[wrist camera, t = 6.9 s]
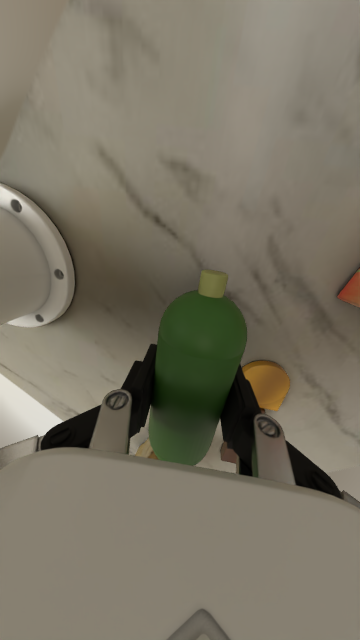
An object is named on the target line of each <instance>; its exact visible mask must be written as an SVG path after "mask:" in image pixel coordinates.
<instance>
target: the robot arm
mask: <svg viewBox="0 0 360 640" xmlns="http://www.w3.org/2000/svg"><path fill="white" fill-rule="evenodd" d="M74 287H75V277H74V268H73V264H72V260H71V256H70V254H69V251H68V249H67V246H66V244H65V242H64V240H63V238H62V236H61V235H60V233H59V231H58V229H57V228H56V226H55V225H54V224H53V223H52V221H51V220H50V219H49V217H48V216H47V215H46V214H45V213H44V212H43V211H42V210H41V209H40V208H39V207H38V206H37V205H36V204H35V203H34V202H33V201H32V200H30V199H29V198H27V197H26V196H25V195H23V194H22V193H20V192H19V191H17V190H15V189H13V188H11V187H9V186H7V185H5V184H1V183H0V325H2V324H4V323H7V324H11V325H14V326H18V327H27V328H31V327H39V326H43V325H46V324H48V323H50V322H52V321H54V320H56V319H58V318H59V317H60V316H61V315H62V314H64V313H65V311H66V310H67V308H68V307H69V305H70V303H71V300H72V298H73V294H74ZM156 352H157V345H155V344H151V345H150V347H149V349H148V351H147V353H146V356H145V358H144V360H143V362H142V361H135V362H134V364H133V366H132V368H131V370H130V372H129V374H128V376H127V378H126V380H125V382H124V384H123V386H122V388H121V389H117V390H113V391H111V392H109V393H108V394H107V395H106V396H105V397H104V399H103V402H102V404H101V405H99V406H97V407H95V408H93V409H91V410H88V411H86V412H84V413H82V414H80V415H78V416H75V417H73V418H71V419H69V420H67V421H64V422H62V423H60V424H58V425H56V426H55V427H53V428H52V429H50V430H49V431H48V432H47V433H46V434H45V435H44V436H41V437H38V435H37V436H34V437H31V438H28V439H26V440H23V441H20V442H17V443H14V444H11V445H9V446H6V447H3V448H0V640H360V502H359V501H357V500H356V499H355V498H353V497H352V496H351V495H349V494H348V493H347V492H345V491H344V490H343V491H342V492H341V491H339V489H338V488H337V486H336V484H335V483H334V482H333V480H332V479H331V478H330V477H329V476H328V475H327V474H326V473H325V472H324V471H323V470H321V469H320V468H319V467H318V466H317V465H315V464H314V463H313V462H312V461H311V460H309V459H308V458H307V457H306V456H304V455H303V454H302V453H301V452H300V451H298V450H297V449H296V448H295V447H294V446H292V445H291V444H290V443H289V442H288V441H286V440H285V436H284V432H283V430H282V427H281V426H280V424H279V423H278V422H277V421H276V420H275V419H273V418H272V417H270V416H268V415H266V414H262V412H261V409H260V407H259V404H258V402H257V399H256V396H255V394H254V391H253V389H252V386H251V384H250V381H249V380H247V379H246V378H245V376H244V373H243V370H242V368H241V365H240V364H239V366H238V369H237V372H236V375H235V378H234V380H233V383H232V386H231V389H230V392H229V394H228V397H227V400H226V403H225V406H224V408H223V411H222V414H221V417H220V419H221V426H222V434H223V440H224V441H225V442H227V449H233V450H234V452H235V453H236V454H237V457H236V474H234V473H229V472H223V471H218V470H212V469H207V468H201V467H196V466H190V465H185V464H179V463H173V462H168V461H162V460H156V459H151V458H145V457H139V456H133V455H129V448H130V438H131V437H132V436H134V435H135V434H137V433H139V432H140V428H141V427H144V426H145V423H146V419H147V416H148V412H149V409H150V405H151V400H152V390H153V381H154V371H155V361H156Z"/></svg>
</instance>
